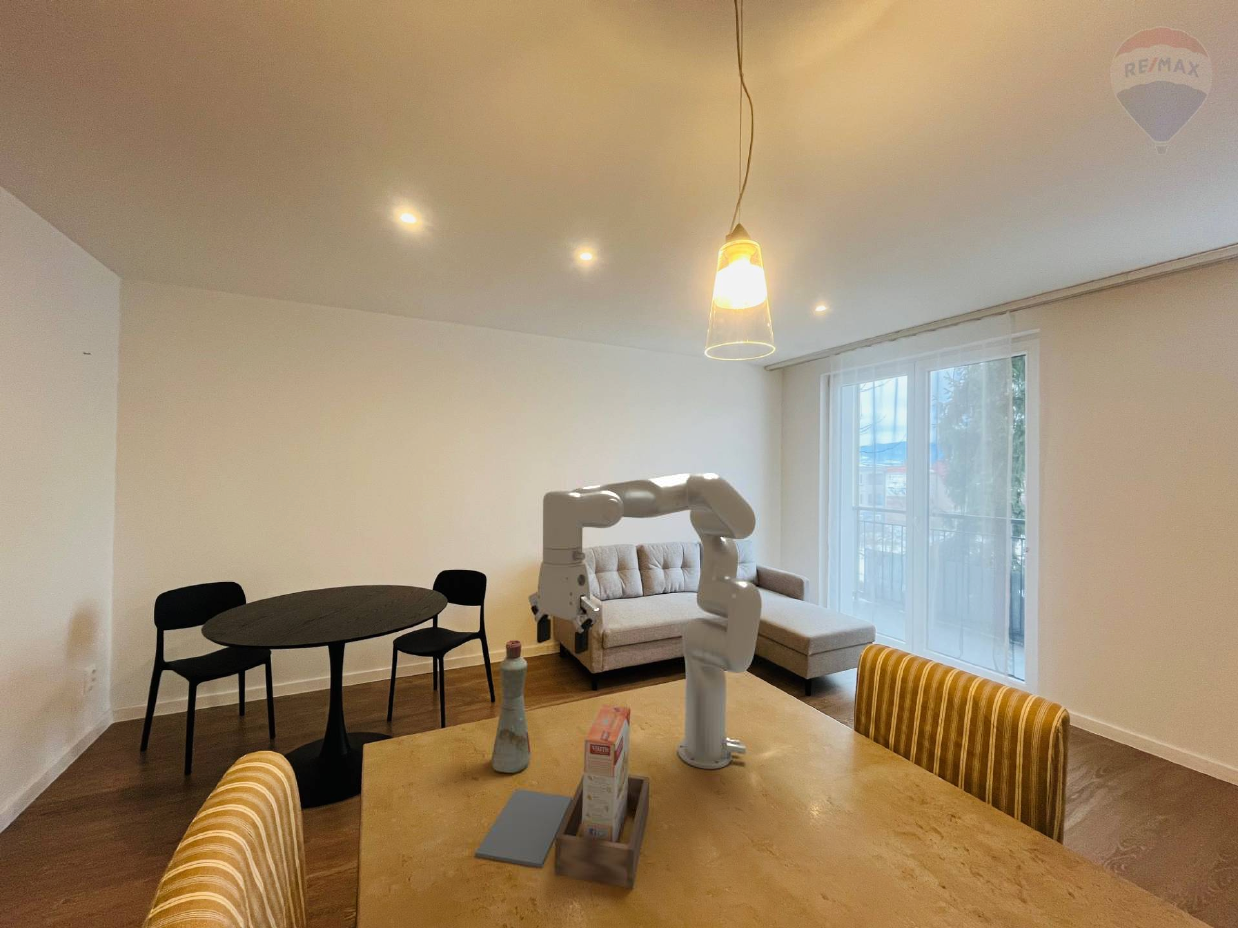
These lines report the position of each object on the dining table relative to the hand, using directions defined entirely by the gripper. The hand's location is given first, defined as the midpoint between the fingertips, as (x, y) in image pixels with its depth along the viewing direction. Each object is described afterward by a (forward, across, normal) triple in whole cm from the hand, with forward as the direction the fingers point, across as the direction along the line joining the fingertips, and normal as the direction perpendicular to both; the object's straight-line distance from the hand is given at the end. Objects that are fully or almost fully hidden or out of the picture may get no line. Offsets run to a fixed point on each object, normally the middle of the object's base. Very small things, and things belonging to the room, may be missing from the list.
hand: (562, 646), depth 95 cm
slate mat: (+33, +4, +5) cm, 33 cm away
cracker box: (+33, -9, -2) cm, 35 cm away
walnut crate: (+33, -9, -2) cm, 34 cm away
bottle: (+33, +22, -7) cm, 40 cm away
